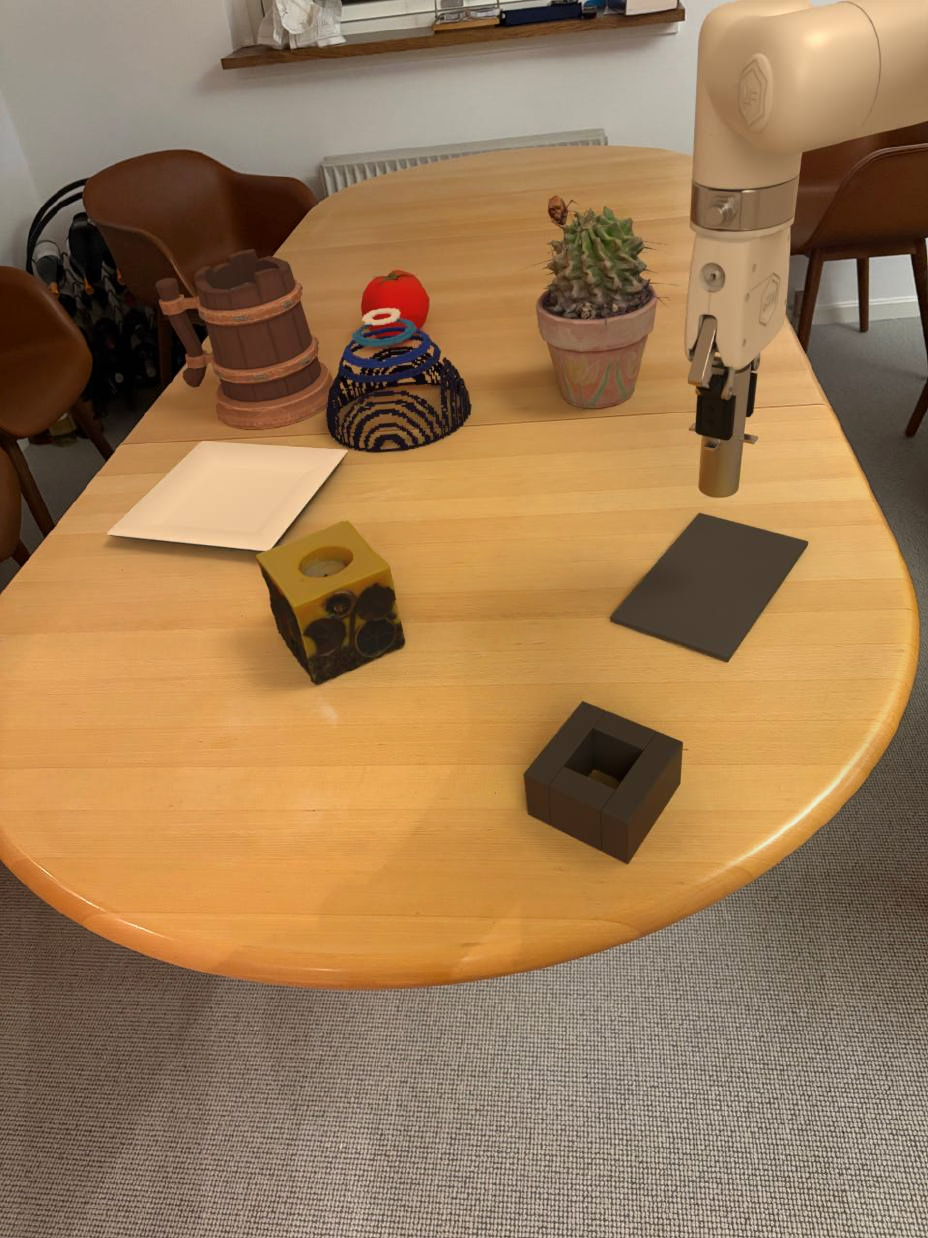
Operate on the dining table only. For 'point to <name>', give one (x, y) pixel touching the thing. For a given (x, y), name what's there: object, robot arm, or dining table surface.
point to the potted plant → (596, 307)
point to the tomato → (396, 300)
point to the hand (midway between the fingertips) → (724, 422)
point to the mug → (251, 341)
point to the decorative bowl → (394, 385)
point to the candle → (332, 601)
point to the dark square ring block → (594, 807)
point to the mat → (710, 585)
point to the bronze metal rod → (726, 445)
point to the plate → (230, 495)
